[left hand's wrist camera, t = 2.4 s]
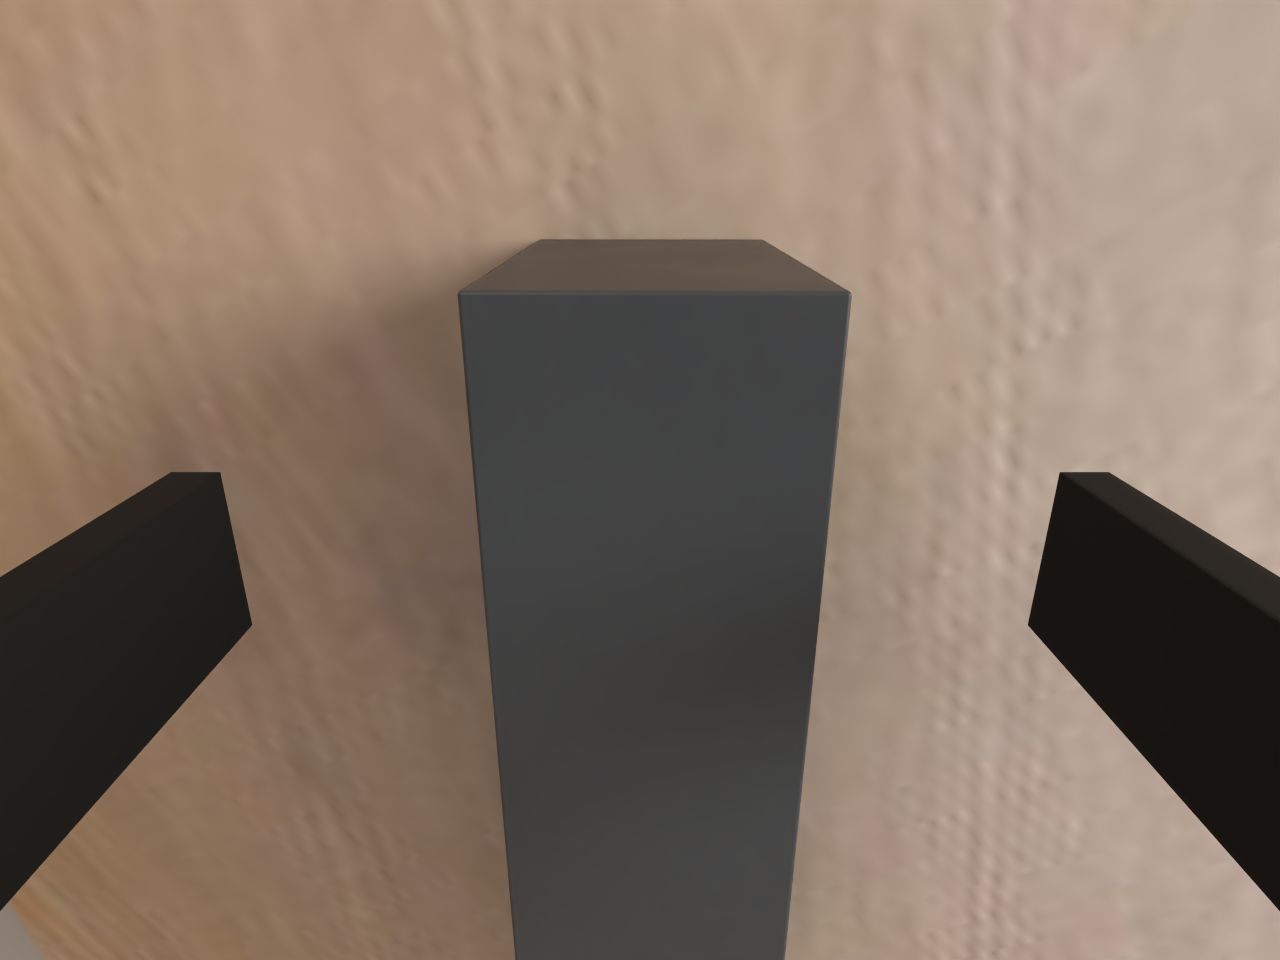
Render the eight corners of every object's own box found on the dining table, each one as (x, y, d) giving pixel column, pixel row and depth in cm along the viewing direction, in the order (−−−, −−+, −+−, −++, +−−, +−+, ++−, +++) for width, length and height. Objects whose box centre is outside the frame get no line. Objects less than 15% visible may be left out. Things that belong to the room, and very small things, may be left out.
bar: (538, 239, 17) (455, 291, 10) (764, 239, 17) (853, 292, 10) (572, 971, 26) (543, 1287, 19) (722, 972, 26) (751, 1290, 19)
